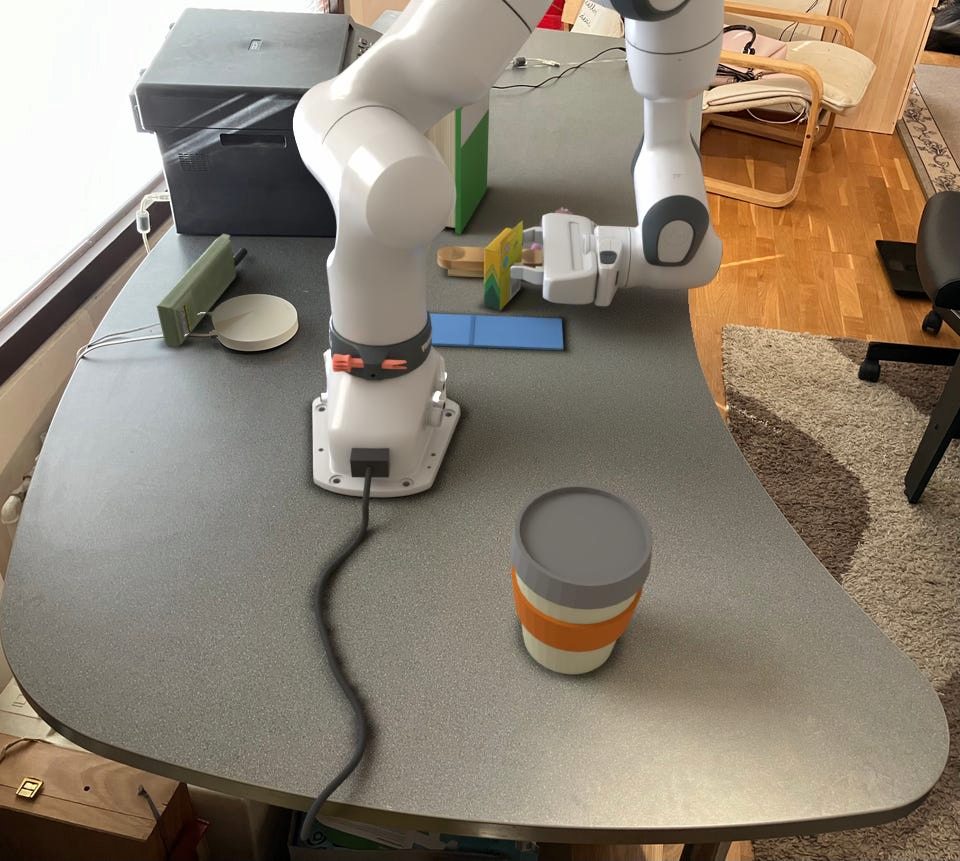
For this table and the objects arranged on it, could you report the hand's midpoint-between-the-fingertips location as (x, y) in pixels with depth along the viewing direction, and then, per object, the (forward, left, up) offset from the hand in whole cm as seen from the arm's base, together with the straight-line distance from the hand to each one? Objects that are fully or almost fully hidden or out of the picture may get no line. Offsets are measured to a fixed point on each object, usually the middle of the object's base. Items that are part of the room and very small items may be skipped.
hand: (510, 253), depth 127 cm
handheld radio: (-3, +44, -8) cm, 45 cm away
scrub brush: (+8, +3, -8) cm, 11 cm away
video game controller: (+17, -7, -8) cm, 20 cm away
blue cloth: (-9, +2, -8) cm, 12 cm away
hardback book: (+29, +10, -8) cm, 32 cm away
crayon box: (0, +1, -8) cm, 8 cm away
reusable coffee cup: (-61, -7, -8) cm, 62 cm away
